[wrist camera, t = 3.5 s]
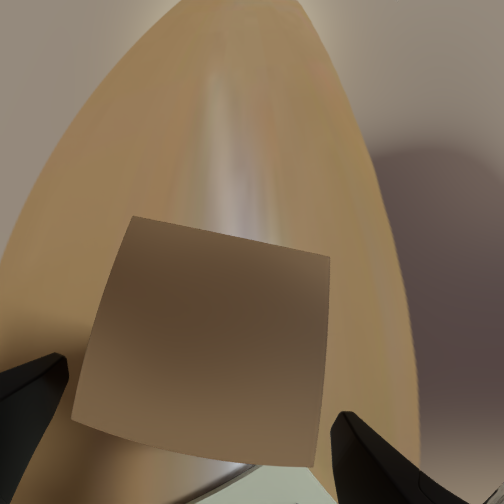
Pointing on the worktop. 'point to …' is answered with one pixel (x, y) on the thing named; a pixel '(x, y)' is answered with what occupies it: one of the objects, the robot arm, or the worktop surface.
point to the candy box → (496, 496)
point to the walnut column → (209, 347)
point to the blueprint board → (269, 488)
